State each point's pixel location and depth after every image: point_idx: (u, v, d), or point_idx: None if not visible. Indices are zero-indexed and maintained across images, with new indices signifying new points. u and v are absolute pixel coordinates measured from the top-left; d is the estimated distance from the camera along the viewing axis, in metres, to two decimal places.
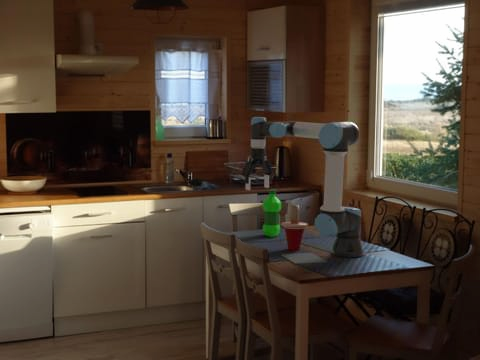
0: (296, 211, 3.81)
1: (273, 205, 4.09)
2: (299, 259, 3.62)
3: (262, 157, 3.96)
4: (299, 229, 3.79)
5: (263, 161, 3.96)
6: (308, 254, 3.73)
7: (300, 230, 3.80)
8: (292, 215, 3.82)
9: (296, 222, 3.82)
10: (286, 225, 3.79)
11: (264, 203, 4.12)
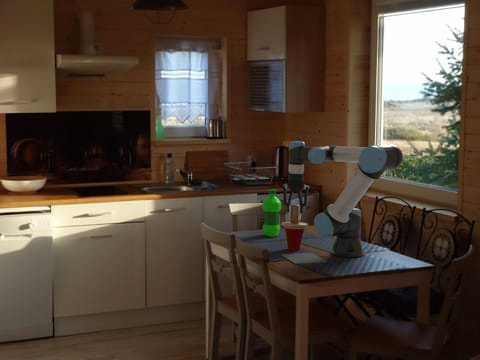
0: (296, 211, 3.81)
1: (273, 205, 4.09)
2: (299, 259, 3.62)
3: (300, 183, 3.79)
4: (299, 229, 3.79)
5: (298, 188, 3.79)
6: (308, 254, 3.73)
7: (300, 230, 3.80)
8: (292, 215, 3.82)
9: (296, 222, 3.82)
10: (286, 225, 3.79)
11: (264, 203, 4.12)
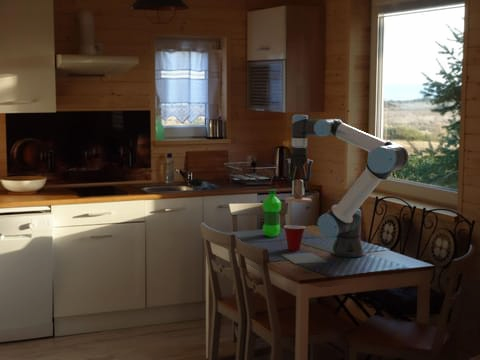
0: (300, 186, 3.75)
1: (273, 205, 4.09)
2: (299, 259, 3.62)
3: (303, 157, 3.73)
4: (299, 229, 3.79)
5: (302, 163, 3.73)
6: (308, 254, 3.73)
7: (300, 230, 3.80)
8: (295, 190, 3.75)
9: (299, 197, 3.75)
10: (289, 200, 3.72)
11: (264, 203, 4.12)
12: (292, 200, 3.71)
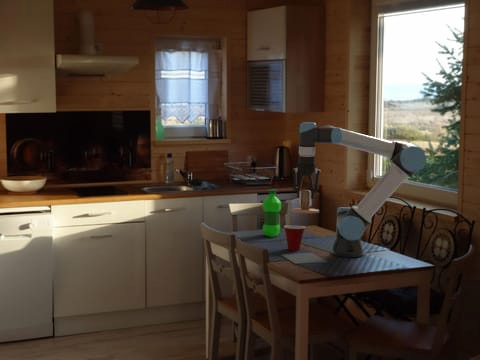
0: (307, 196, 3.60)
1: (273, 205, 4.09)
2: (299, 259, 3.62)
3: (311, 166, 3.58)
4: (299, 229, 3.79)
5: (309, 172, 3.58)
6: (308, 254, 3.73)
7: (300, 230, 3.80)
8: (303, 200, 3.61)
9: (307, 208, 3.61)
10: (296, 211, 3.58)
11: (264, 203, 4.12)
12: (299, 211, 3.57)
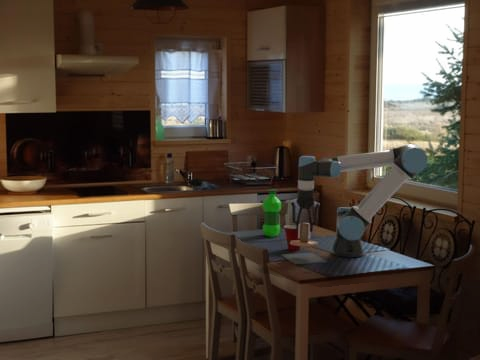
0: (306, 229, 3.63)
1: (273, 205, 4.09)
2: (299, 259, 3.62)
3: (310, 200, 3.60)
4: None
5: (308, 206, 3.60)
6: (308, 254, 3.73)
7: None
8: (302, 233, 3.63)
9: (306, 241, 3.63)
10: (295, 244, 3.60)
11: (264, 203, 4.12)
12: (298, 244, 3.59)
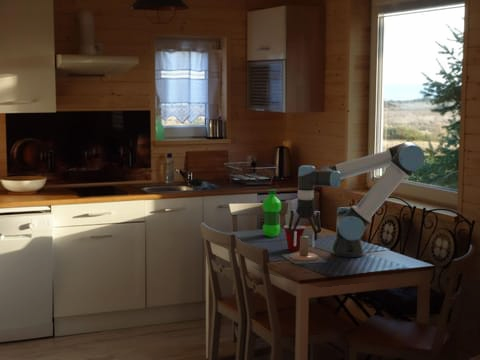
0: (306, 243, 3.63)
1: (273, 205, 4.09)
2: None
3: (310, 209, 3.61)
4: (299, 229, 3.79)
5: (309, 215, 3.61)
6: None
7: (300, 230, 3.80)
8: (301, 247, 3.64)
9: (305, 254, 3.64)
10: (295, 258, 3.61)
11: (264, 203, 4.12)
12: (298, 259, 3.60)
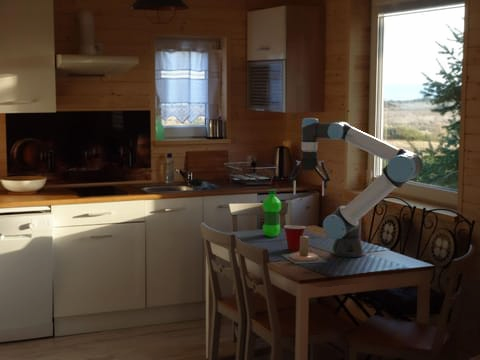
0: (305, 243, 3.63)
1: (273, 205, 4.09)
2: None
3: (313, 161, 3.66)
4: (299, 229, 3.79)
5: (314, 166, 3.66)
6: None
7: (300, 230, 3.80)
8: (301, 247, 3.64)
9: (305, 254, 3.64)
10: (295, 258, 3.61)
11: (264, 203, 4.12)
12: (298, 259, 3.60)
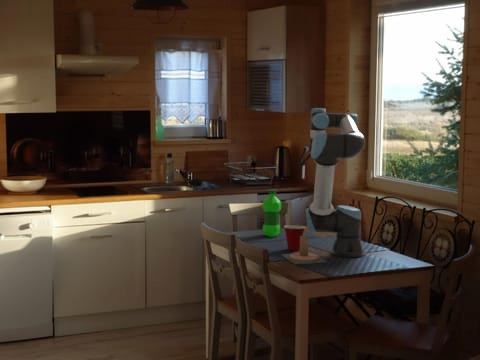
0: (305, 243, 3.63)
1: (273, 205, 4.09)
2: None
3: None
4: (299, 229, 3.79)
5: None
6: None
7: (300, 230, 3.80)
8: (301, 247, 3.64)
9: (305, 254, 3.64)
10: (295, 258, 3.61)
11: (264, 203, 4.12)
12: (298, 259, 3.60)
